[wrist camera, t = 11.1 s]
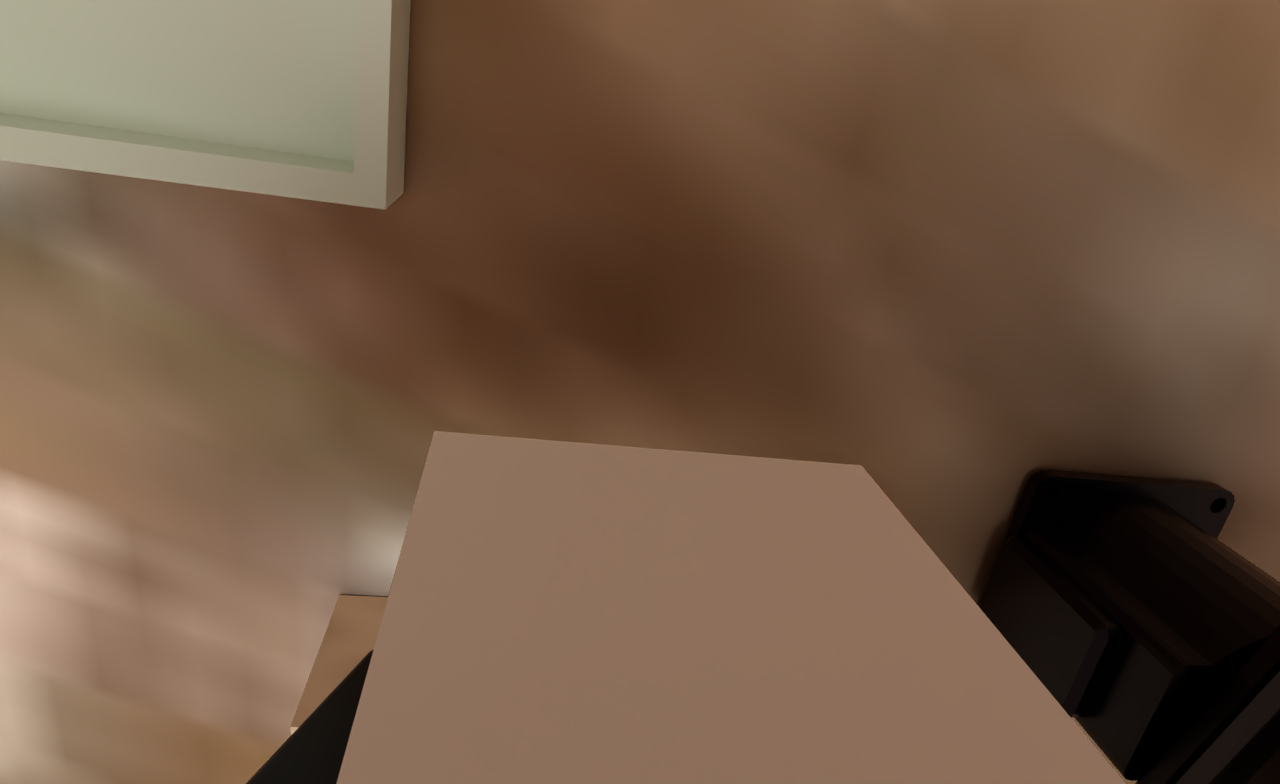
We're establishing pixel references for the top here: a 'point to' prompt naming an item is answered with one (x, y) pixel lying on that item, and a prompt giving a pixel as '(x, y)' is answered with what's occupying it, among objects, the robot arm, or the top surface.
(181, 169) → the tray
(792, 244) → the top surface
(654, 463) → the cream block
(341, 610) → the wooden square frame
